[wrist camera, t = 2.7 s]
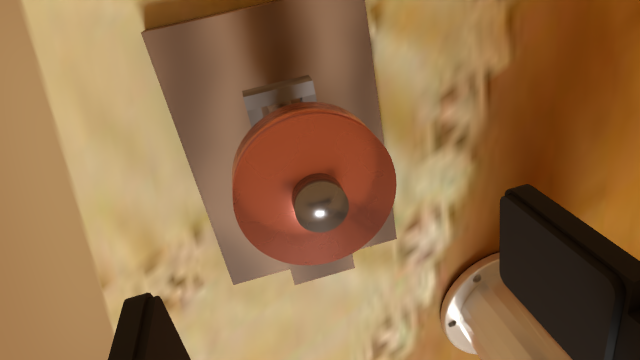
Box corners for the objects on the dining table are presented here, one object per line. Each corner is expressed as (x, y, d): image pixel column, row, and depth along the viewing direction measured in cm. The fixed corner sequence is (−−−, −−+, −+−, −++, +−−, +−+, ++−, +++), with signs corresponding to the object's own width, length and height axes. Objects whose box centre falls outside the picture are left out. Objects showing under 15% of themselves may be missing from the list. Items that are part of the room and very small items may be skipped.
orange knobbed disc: (315, 43, 28) (395, 104, 15) (333, 136, 30) (413, 254, 18) (216, 67, 27) (209, 152, 14) (244, 159, 30) (259, 299, 17)
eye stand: (356, -18, 29) (402, -15, 21) (390, 229, 38) (431, 292, 30) (144, 29, 28) (115, 51, 20) (233, 273, 37) (235, 351, 29)
